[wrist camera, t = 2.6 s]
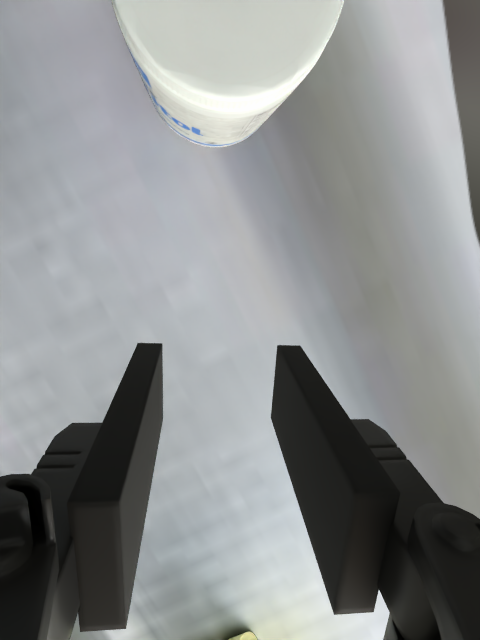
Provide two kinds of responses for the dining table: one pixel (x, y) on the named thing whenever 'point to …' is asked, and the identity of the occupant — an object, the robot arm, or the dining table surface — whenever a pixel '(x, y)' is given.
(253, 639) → the slatted curved stool
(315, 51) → the supplement tub
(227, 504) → the dining table surface
